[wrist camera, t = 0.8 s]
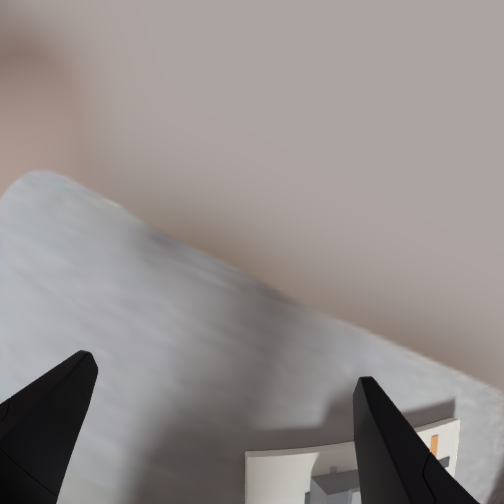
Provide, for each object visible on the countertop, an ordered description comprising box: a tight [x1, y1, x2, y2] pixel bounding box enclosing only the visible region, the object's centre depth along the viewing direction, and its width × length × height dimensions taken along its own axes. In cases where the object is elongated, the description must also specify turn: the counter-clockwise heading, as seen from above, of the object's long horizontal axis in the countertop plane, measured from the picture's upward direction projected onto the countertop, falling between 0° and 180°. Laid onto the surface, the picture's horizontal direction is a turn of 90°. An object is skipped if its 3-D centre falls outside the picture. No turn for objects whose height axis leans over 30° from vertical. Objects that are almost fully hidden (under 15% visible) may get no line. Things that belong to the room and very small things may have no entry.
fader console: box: [245, 418, 460, 504], centre depth 18 cm, size 8×18×2 cm, turn 90°
